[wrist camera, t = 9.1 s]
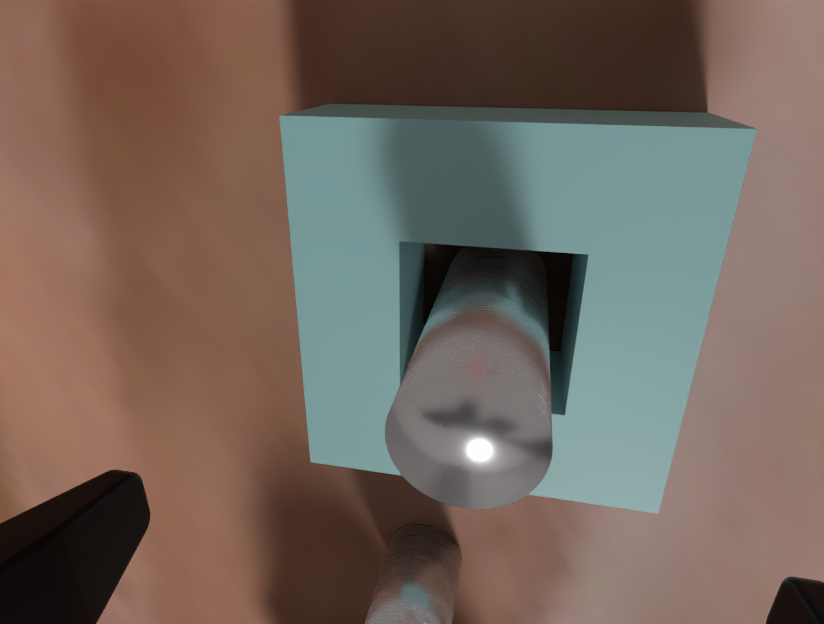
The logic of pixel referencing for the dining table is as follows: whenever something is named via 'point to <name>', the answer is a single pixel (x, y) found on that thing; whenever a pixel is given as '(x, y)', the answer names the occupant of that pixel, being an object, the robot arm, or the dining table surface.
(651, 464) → the socket block
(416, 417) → the pin medium
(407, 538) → the pin short
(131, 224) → the dining table surface
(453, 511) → the dining table surface
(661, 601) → the dining table surface
